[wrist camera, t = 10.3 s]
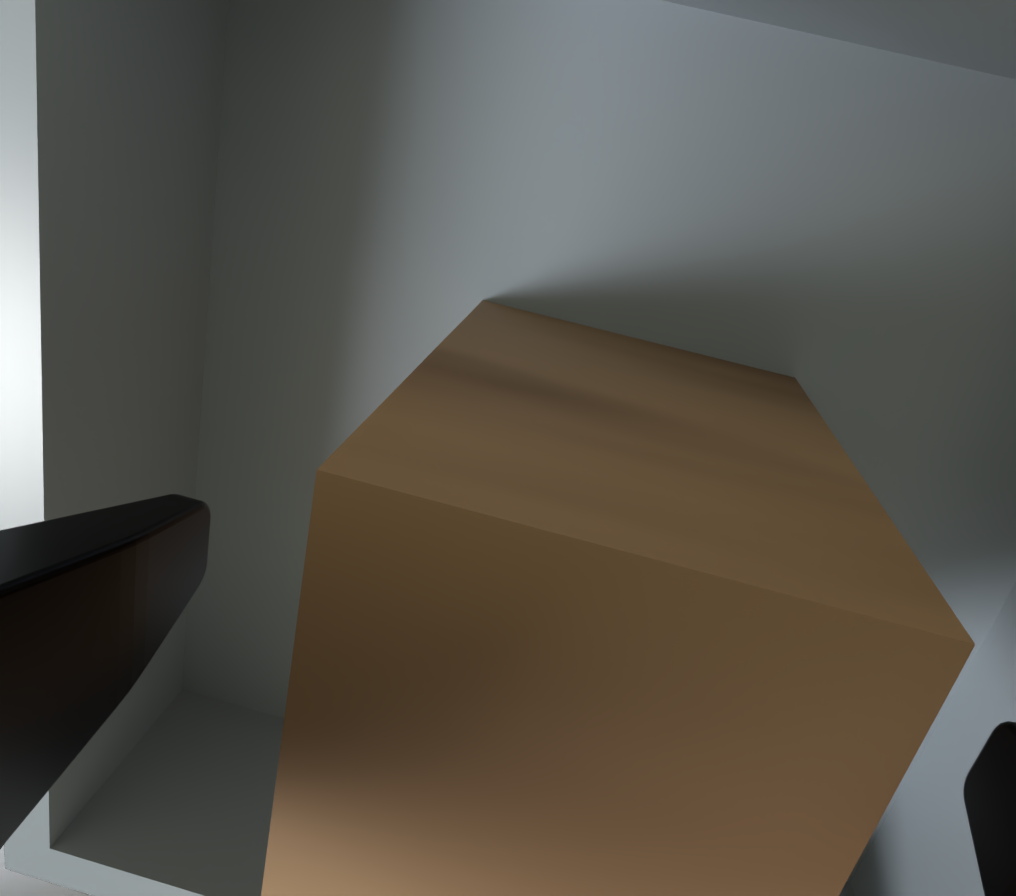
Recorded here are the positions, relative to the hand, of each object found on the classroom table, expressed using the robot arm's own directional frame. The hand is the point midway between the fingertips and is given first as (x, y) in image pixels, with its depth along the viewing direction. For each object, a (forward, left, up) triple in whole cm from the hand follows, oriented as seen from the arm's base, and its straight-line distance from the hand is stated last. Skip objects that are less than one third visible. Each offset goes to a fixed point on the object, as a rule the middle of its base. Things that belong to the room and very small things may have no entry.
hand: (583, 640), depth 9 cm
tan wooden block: (0, 0, -5) cm, 5 cm away
